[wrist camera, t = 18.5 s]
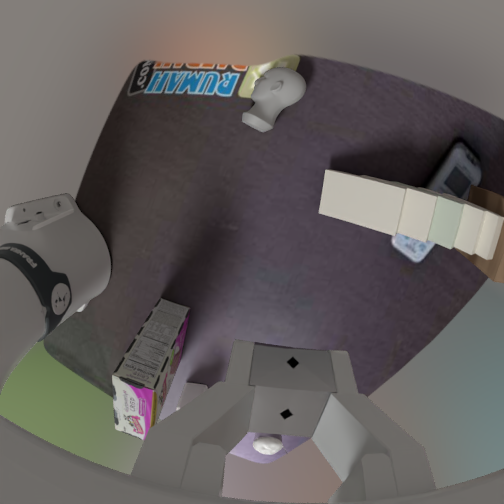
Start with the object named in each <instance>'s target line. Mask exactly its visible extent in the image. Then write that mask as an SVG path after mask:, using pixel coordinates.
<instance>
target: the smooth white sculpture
mask: <svg viewBox="0 0 504 504" xmlns="http://www.w3.org/2000/svg"><path fill="white" fill-rule="evenodd" d="M305 91H306V83H305V80H304V78H303V77H302V76H301V75H300V74H299V73H297V72H296V71H294V70H292V69H289V68H284V67H277V68H273V69H270V70H268V71H267V72H266V73H265V74H264V76H263V77H261V78H259V79H257V80H256V81H255V87H254V91H253V93H252V94H251V98H252V99H253V101H254V102H255V104H254V106H253V107H252V108H251V109H250V110H249V111H248V112H244V113H243V117H242V122H244V123H245V124H247V125H249V126H251V127H253V128H255V129H257V130H259V131H261V132H265V131H268V130H270V129H272V128H273V126H274V123H275V120H276V118H277V116H278V115H279V113H280V112H281V111H282V110H283V109H284V108H285V107H287V106H290V105H292V104H294V103H296V102H297V101H299V100H300V99H301V98H302V97H303V95H304V93H305Z"/></svg>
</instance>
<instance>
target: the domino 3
mask: <svg viewBox="0 0 504 504" xmlns="http://www.w3.org/2000/svg"><path fill="white" fill-rule="evenodd" d="M391 182H393V183H397V184H401V185H404V186H408V187H411V188H414V189H418V190H421V191H424V192H428V193H431V194H434V195H437V196H438V201H437V206H436V210H435V214H434V218H433V222H432V226H431V230H430V234H429V238H428V240H429V241H432V242H434V243H437V244H439V245H442V246H444V247H446V248H449V249H452V248H453V247H454V244H455V241H456V237H457V234H458V230H459V226H460V223H461V219H462V215H463V210H464V206H465V204H464V203H461V202H458V201H455V200H452V199H450V198H447V197H444V196H441V195H438V194H435V193H432V192H429V191H425V190H422V189H419V188H416V187H413V186H409V185H406V184H403V183H399V182H394V181H391Z"/></svg>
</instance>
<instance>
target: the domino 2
mask: <svg viewBox="0 0 504 504" xmlns="http://www.w3.org/2000/svg"><path fill="white" fill-rule="evenodd" d="M360 176H362V177H366V178H371V179H375V180H378V181H382V182H386V183H390V184H394V185H397V186H401V187H405V188H407V192H406V197H405V202H404V206H403V211H402V215H401V220H400V224H399V228H398V232H397V233H400V234H403V235H406V236H408V237H411V238H414V239H417V240H420V241H422V242H425V243H426V242H427V240H428V238H429V234H430V230H431V226H432V222H433V218H434V214H435V210H436V206H437V201H438V196H437V195H434V194H431V193H428V192H424V191H421V190H418V189H414V188H411V187H408V186H404V185H401V184H397V183H393V182H390V181H386V180H382V179H379V178H375V177H371V176H367V175H360Z"/></svg>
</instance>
